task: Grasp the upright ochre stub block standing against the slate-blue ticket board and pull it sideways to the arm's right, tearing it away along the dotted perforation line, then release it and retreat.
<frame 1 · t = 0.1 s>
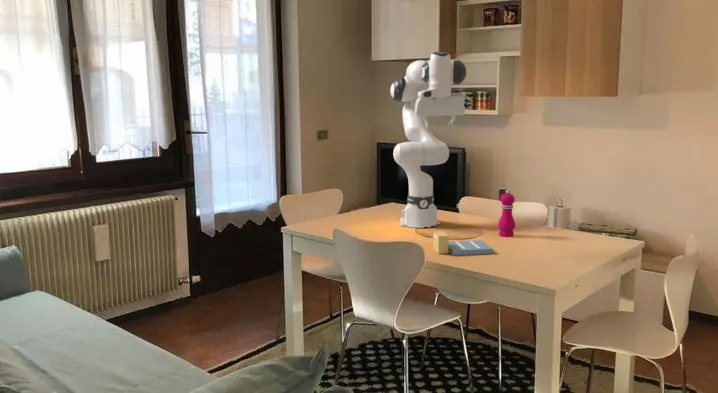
hand: (439, 127, 270), 48 cm above the table, fingers open, 8 cm apart
stub: (440, 242, 262), point 4 cm above the table, slide at 0.0 cm
ticket board: (467, 250, 264), on the table
pepper mill: (506, 235, 288), on the table
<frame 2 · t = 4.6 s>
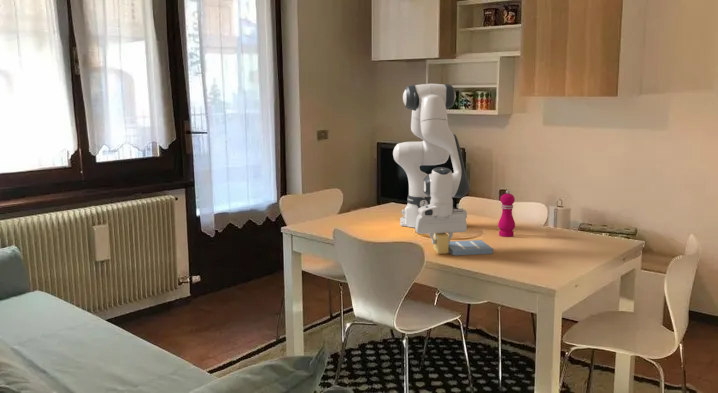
hand: (440, 243, 262), 3 cm above the table, fingers closed on stub, 4 cm apart
stub: (440, 242, 262), point 4 cm above the table, slide at 0.0 cm, touching gripper
everything else where it was.
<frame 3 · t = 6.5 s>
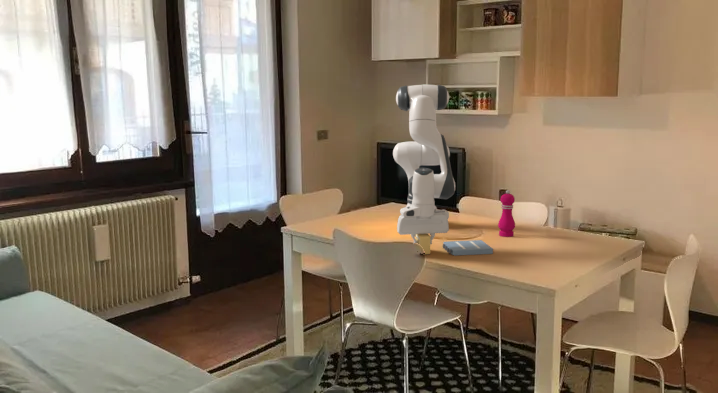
hand: (422, 244, 261), 3 cm above the table, fingers closed on stub, 4 cm apart
stub: (422, 243, 261), point 4 cm above the table, slide at 7.3 cm, touching gripper
everything else where it was.
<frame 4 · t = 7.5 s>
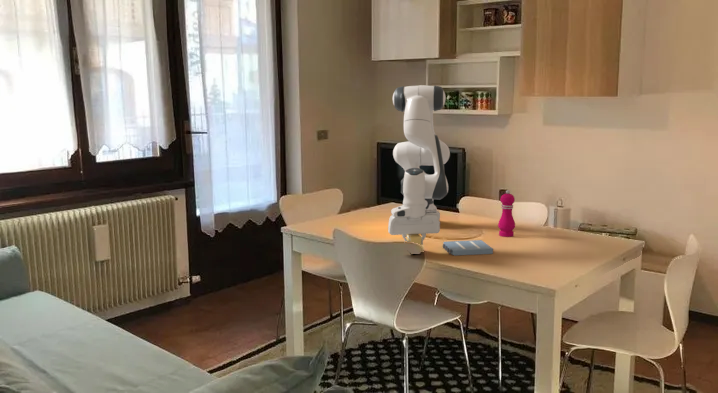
hand: (413, 244, 261), 3 cm above the table, fingers closed on stub, 4 cm apart
stub: (413, 243, 261), point 4 cm above the table, slide at 10.9 cm, touching gripper
everything else where it was.
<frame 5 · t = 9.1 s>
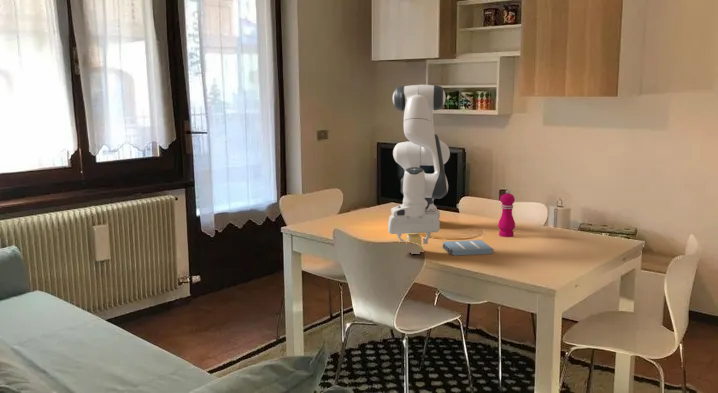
hand: (413, 243, 261), 3 cm above the table, fingers open, 8 cm apart
stub: (413, 243, 261), point 4 cm above the table, slide at 10.9 cm
everything else where it was.
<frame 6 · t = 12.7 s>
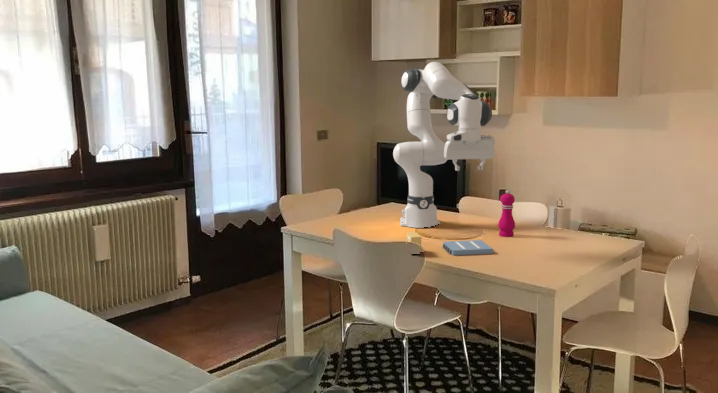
hand: (468, 170, 266), 31 cm above the table, fingers open, 8 cm apart
nothing on the table moved.
at the end: stub slide at 10.9 cm; the gripper is holding nothing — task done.
